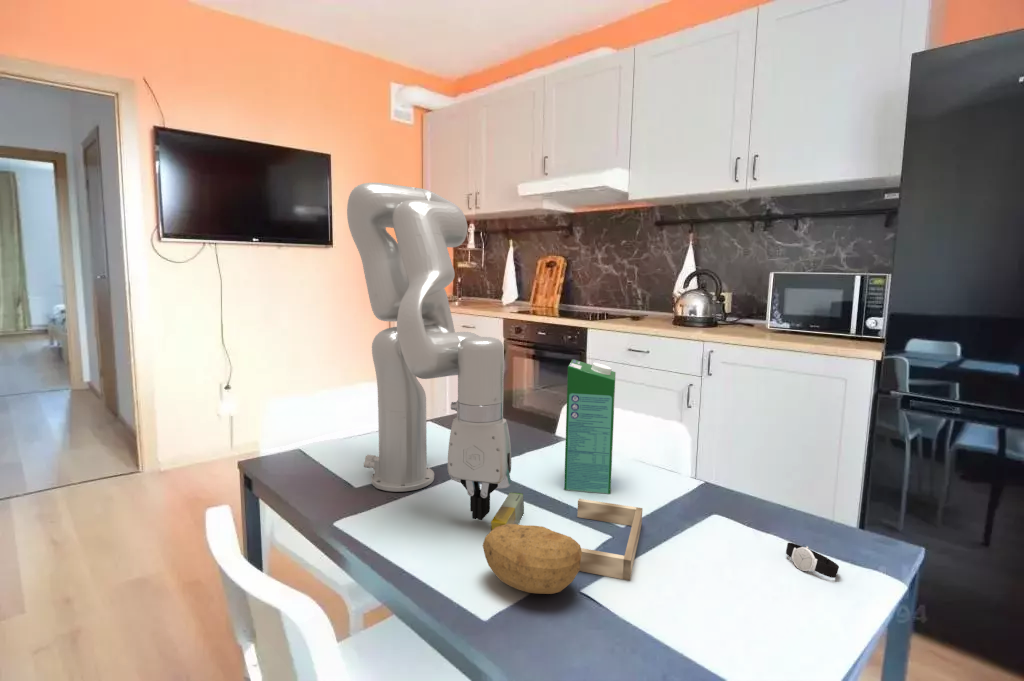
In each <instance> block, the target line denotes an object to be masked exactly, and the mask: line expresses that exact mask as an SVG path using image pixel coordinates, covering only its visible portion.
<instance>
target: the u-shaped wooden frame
mask: <svg viewBox="0 0 1024 681" xmlns="http://www.w3.org/2000/svg"><path fill="white" fill-rule="evenodd" d="M576 517H577V518H582V519H587V520H593V521H600V522H605V523H612V524H618V525H625V526H631V528H630V532H629V536H628V540H627V544H626V548H625V553H624V555H622V554H617V553H611V552H606V551H601V550H600V551H599V550H594V549H590V548H583V547H581V550H582V556H581V561H580V570H579V572H583V573H588V574H594V575H599V576H604V577H609V578H614V579H620V580H625V581H629V582H630V581H631V577H632V572H633V567H634V563H635V559H636V553H637V549H638V544H639V540H640V534H641V531H642V524H643V507H639V506H638V507H637V506H631V505H624V504H617V503H610V502H603V501H597V500H590V499H586V498H585V499H584V498H578V500H577V515H576Z"/></svg>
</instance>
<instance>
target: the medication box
mask: <svg viewBox="0 0 1024 681" xmlns="http://www.w3.org/2000/svg"><path fill="white" fill-rule="evenodd" d="M524 500H525V499H524V493H523V492H516V491H514V492H509V493H508V495H507V496H506V498H505V500H504V501H503V503H502V504H501V506H500V507H499V509H498V511H497V512H496V513H495V515H494V516H493V517H492V519H491V521H490V532H491V531H492V530H493V529H494V528H495V527H498V526H502V525H506V524H517V525H519V524H520V522H521V521H520V520H522V519H523V517H524V515H525V503H524ZM523 514H524V515H523ZM522 516H523V517H522ZM521 518H522V519H521ZM518 523H519V524H518Z"/></svg>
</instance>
